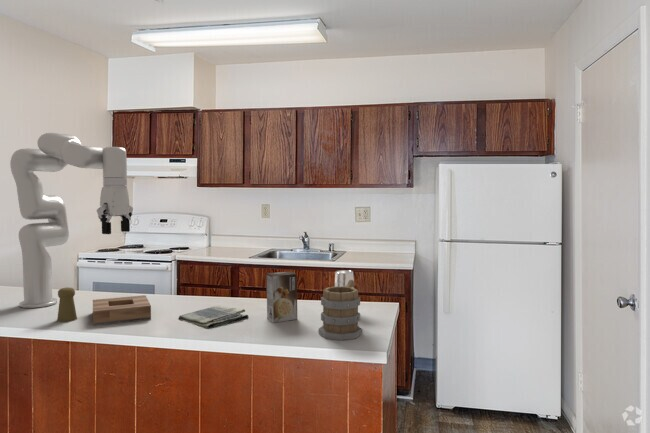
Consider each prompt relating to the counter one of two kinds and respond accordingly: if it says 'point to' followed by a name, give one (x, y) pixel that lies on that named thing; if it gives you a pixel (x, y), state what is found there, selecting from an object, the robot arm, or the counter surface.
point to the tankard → (340, 312)
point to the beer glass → (343, 277)
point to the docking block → (121, 310)
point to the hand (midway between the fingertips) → (116, 232)
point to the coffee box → (281, 296)
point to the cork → (66, 305)
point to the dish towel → (214, 316)
